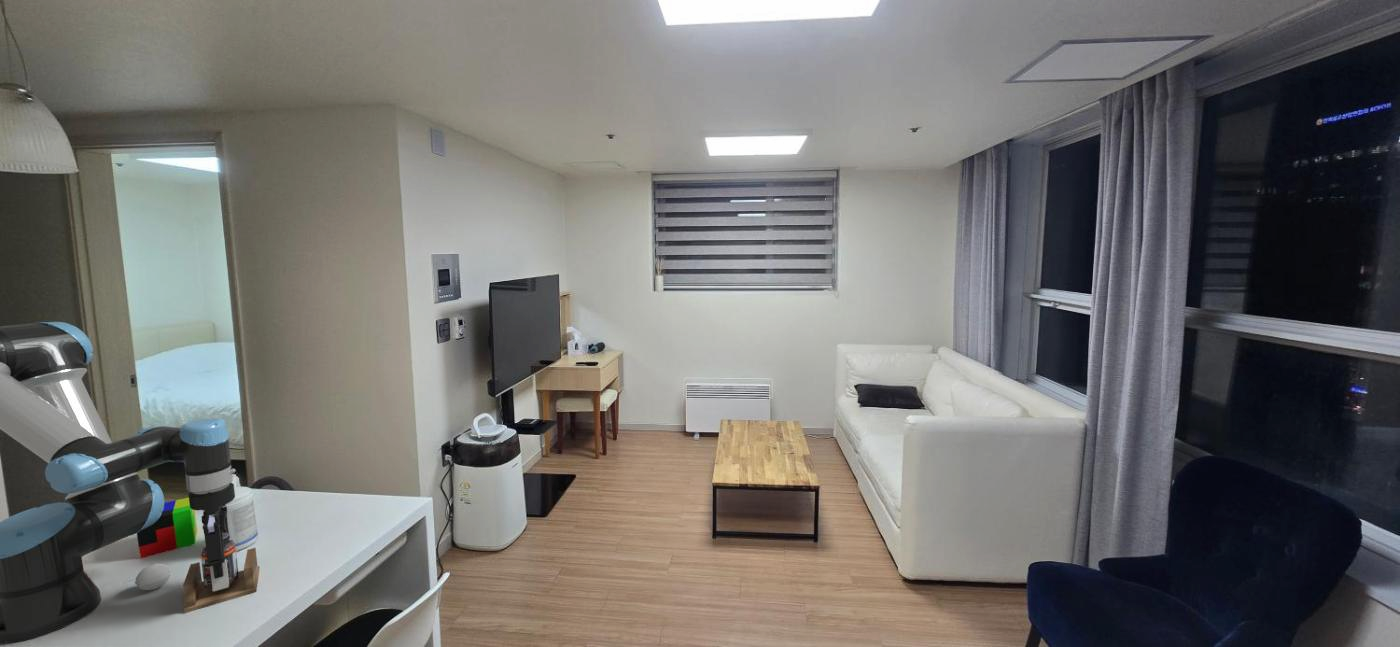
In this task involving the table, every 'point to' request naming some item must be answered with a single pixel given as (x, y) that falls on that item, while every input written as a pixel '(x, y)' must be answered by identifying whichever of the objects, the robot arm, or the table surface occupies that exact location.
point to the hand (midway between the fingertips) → (223, 581)
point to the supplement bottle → (230, 559)
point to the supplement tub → (242, 518)
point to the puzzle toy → (169, 530)
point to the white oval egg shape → (152, 577)
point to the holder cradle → (204, 597)
